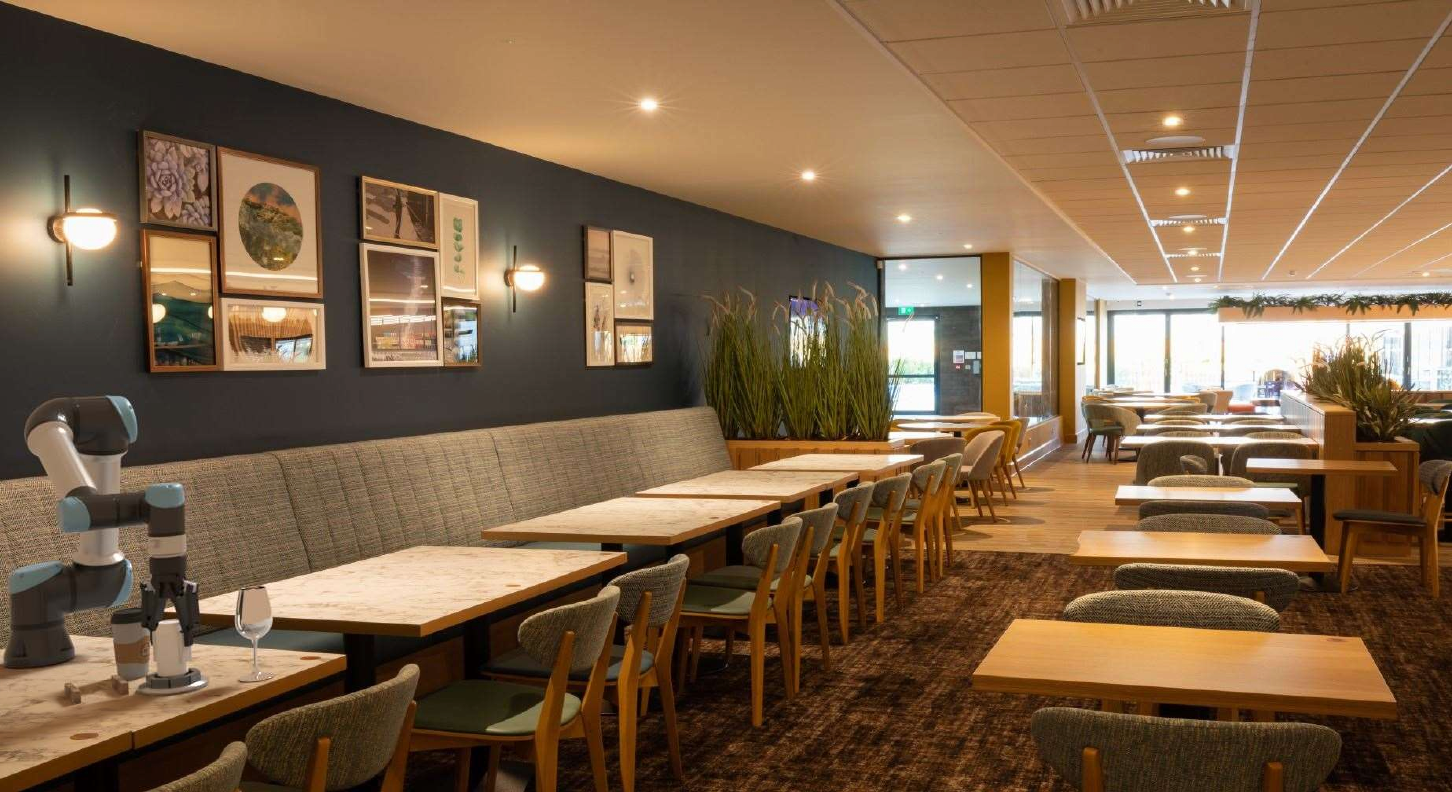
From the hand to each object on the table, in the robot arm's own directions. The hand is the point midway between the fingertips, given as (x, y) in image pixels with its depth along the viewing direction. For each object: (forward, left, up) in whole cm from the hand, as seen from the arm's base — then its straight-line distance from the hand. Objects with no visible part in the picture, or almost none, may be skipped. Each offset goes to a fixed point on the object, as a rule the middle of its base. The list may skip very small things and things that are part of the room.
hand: (172, 660), depth 267 cm
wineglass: (+5, +16, -6) cm, 18 cm away
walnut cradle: (-6, -14, -6) cm, 16 cm away
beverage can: (0, 0, -4) cm, 4 cm away
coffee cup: (-18, -4, -6) cm, 19 cm away
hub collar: (0, 0, -6) cm, 6 cm away
